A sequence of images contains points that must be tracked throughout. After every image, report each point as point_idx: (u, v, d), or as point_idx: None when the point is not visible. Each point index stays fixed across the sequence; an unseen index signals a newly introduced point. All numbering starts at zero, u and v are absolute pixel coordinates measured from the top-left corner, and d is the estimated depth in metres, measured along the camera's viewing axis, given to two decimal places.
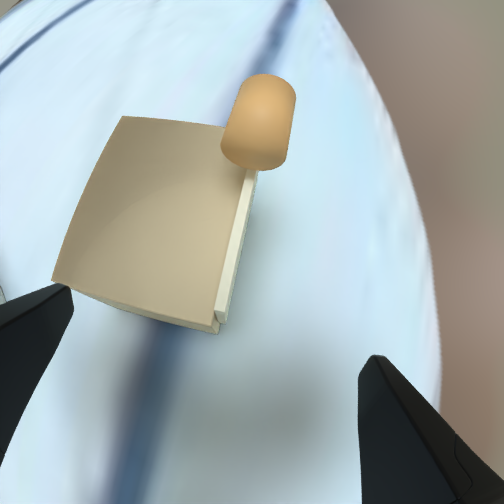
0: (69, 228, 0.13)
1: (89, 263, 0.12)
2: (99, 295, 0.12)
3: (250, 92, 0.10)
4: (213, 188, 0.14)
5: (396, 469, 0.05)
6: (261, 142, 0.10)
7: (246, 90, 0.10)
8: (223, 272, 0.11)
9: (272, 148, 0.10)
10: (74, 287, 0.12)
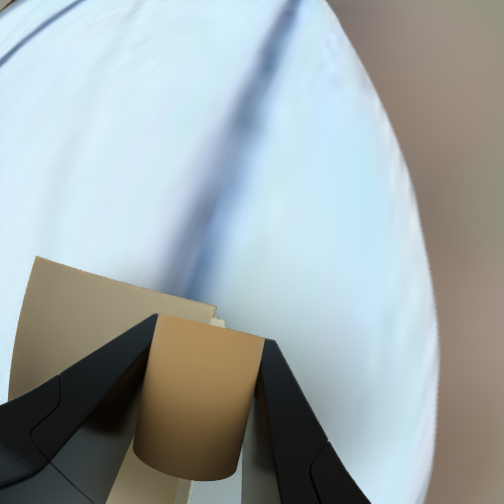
0: None
1: None
2: None
3: (165, 377, 0.05)
4: None
5: (255, 468, 0.05)
6: None
7: (159, 363, 0.05)
8: None
9: None
10: None
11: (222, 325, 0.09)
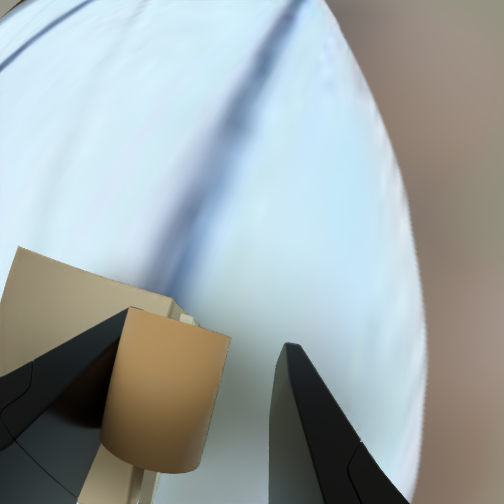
0: None
1: None
2: None
3: (133, 369, 0.05)
4: None
5: (288, 472, 0.05)
6: None
7: (127, 356, 0.05)
8: None
9: None
10: None
11: (191, 321, 0.09)
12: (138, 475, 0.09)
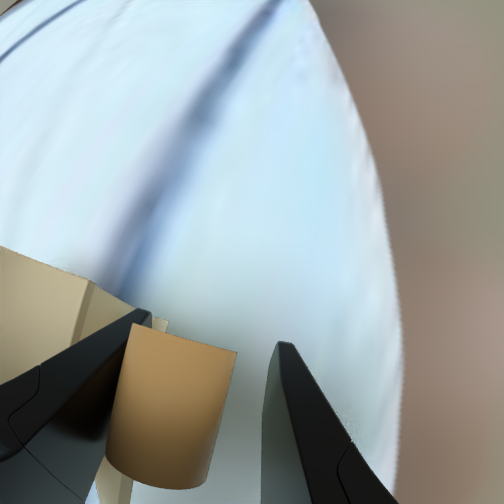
0: None
1: None
2: None
3: (160, 395, 0.05)
4: None
5: (279, 471, 0.05)
6: None
7: (152, 381, 0.05)
8: None
9: None
10: None
11: (165, 325, 0.08)
12: None
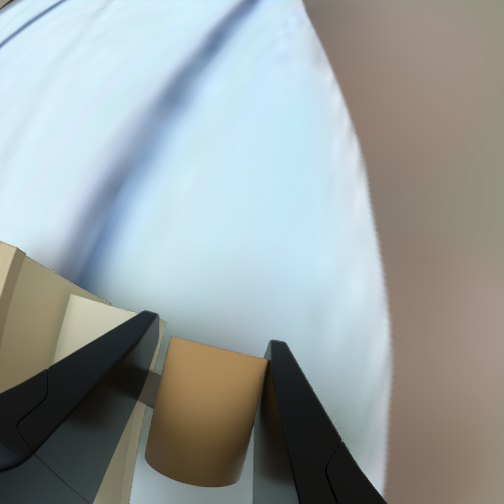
0: None
1: None
2: None
3: (232, 407, 0.05)
4: None
5: (269, 470, 0.05)
6: None
7: (224, 397, 0.05)
8: None
9: None
10: None
11: (163, 326, 0.08)
12: None
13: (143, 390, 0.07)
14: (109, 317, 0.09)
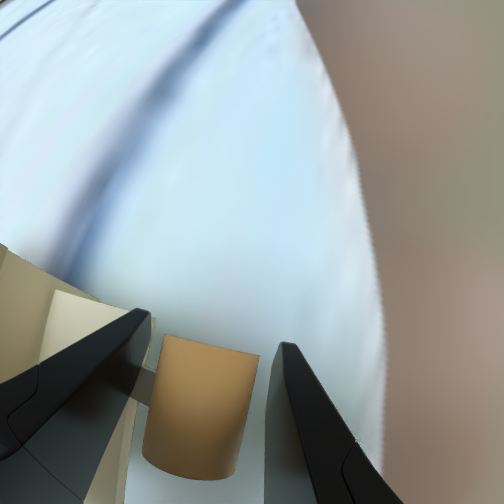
0: None
1: None
2: None
3: (228, 403, 0.06)
4: None
5: (283, 471, 0.05)
6: None
7: (221, 393, 0.06)
8: None
9: None
10: None
11: (153, 323, 0.08)
12: None
13: (135, 387, 0.07)
14: (97, 314, 0.09)
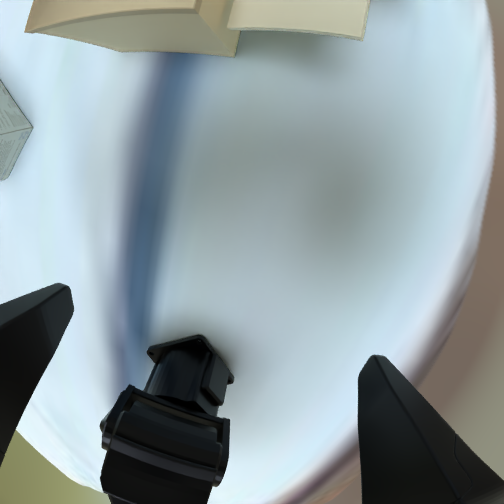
0: None
1: None
2: (70, 18, 0.07)
3: None
4: None
5: (396, 469, 0.05)
6: None
7: None
8: (366, 7, 0.07)
9: None
10: (46, 24, 0.07)
11: None
12: None
13: None
14: None
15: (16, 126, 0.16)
